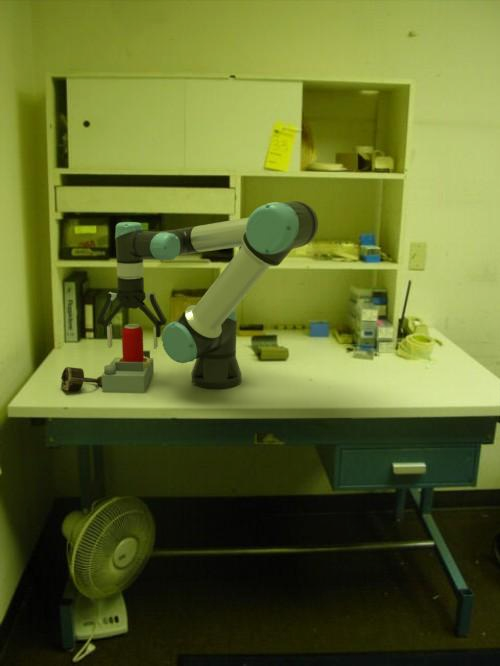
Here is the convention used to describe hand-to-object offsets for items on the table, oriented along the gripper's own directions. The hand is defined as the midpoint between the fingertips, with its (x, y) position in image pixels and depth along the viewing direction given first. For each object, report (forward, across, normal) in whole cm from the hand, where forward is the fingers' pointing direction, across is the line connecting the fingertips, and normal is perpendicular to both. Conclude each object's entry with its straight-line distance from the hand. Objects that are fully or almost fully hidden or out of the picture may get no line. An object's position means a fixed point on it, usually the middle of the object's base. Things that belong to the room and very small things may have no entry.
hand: (132, 347), depth 183 cm
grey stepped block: (+10, +1, +2) cm, 11 cm away
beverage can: (+6, 0, 0) cm, 6 cm away
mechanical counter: (+11, +13, +8) cm, 19 cm away
